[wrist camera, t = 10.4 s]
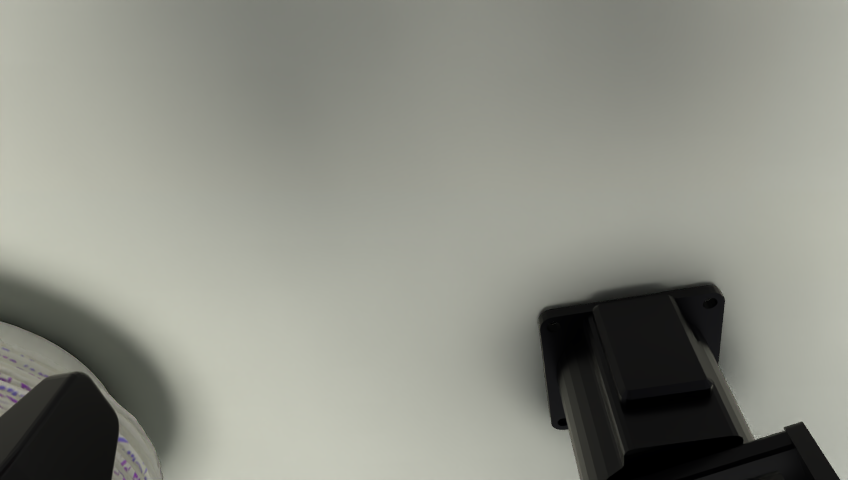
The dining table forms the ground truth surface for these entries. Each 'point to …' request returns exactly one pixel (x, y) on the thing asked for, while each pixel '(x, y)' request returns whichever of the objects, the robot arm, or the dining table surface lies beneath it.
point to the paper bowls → (39, 358)
